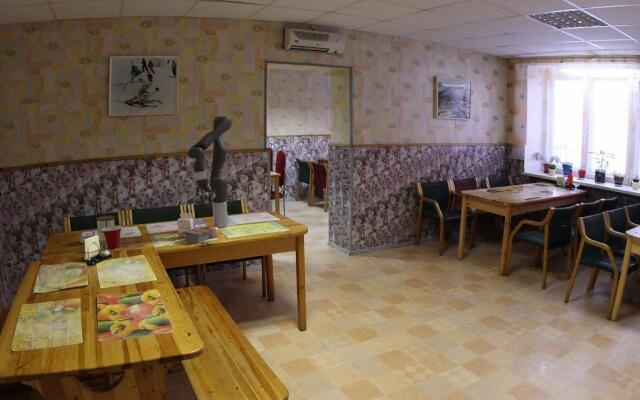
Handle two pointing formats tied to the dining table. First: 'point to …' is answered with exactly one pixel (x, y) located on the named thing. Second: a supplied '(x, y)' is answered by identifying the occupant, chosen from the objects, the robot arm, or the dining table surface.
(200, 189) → the robot arm
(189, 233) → the display podium
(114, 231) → the plastic cup
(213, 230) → the pinkish brown round piece
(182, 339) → the dining table surface
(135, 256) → the dining table surface
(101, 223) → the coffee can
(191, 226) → the ink cartridge box
